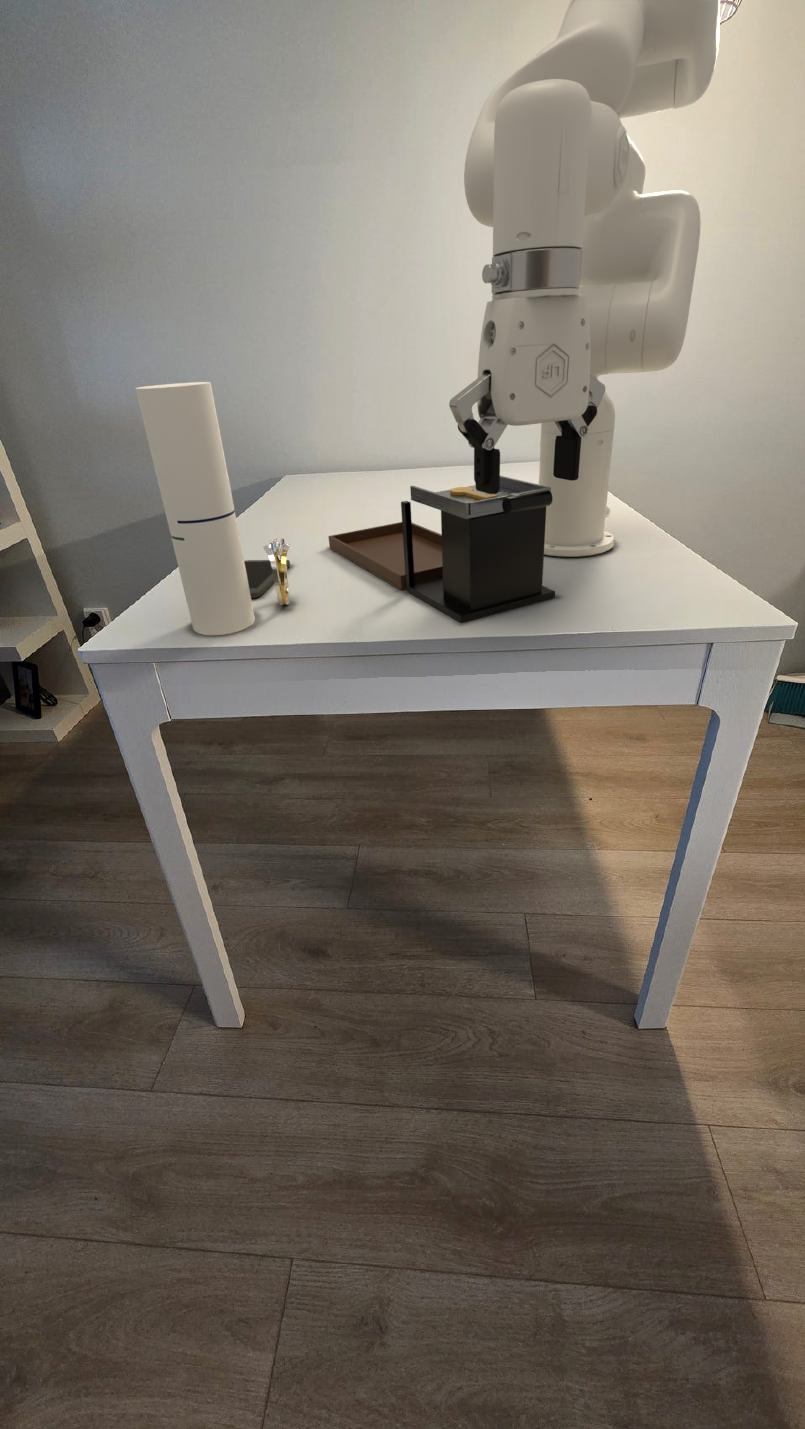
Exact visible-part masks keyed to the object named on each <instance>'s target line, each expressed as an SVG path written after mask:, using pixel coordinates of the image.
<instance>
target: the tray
mask: <svg viewBox="0 0 805 1429" xmlns="http://www.w3.org/2000/svg"><path fill="white" fill-rule="evenodd" d="M327 537H328V544H329V549H330V550H332V551H334V552H335V553H337V554H339V555H340V556H342V557H344V558H346V559H347V560H349V561H351V562H352V563H354V564H356V565H358V566H359V567H361V568H362V569H365V571H368V572H370V573H371V574H372V575H374V576H376V577H378V578H380V579H381V580H383V581H385V582H386V583H388V584H390V585H392V586H393V587H395V588H396V589H398V590H400V591H404V590H405V591H406V580H405V563H404V546H403V529H402V521H399V522H394V523H388V524H384V525H379V526H374V527H368V528H363V529H357V530H353V531H348V532H342V533H338V534H333V535H328V536H327ZM412 541H413V560H414V579H415V584H416V583H420V582H424V581H428V580H433V579H437V578H441V577H443V566H442V533H439V532H437V531H434V530H431V529H429V528H427V527H424V526H422V525H420V524H417V523H414V522H412Z"/></svg>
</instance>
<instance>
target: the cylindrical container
mask: <svg viewBox="0 0 805 1429" xmlns="http://www.w3.org/2000/svg"><path fill="white" fill-rule="evenodd" d="M135 394H136V397H137V401H138V406H139V409H140V410H139V411H140V414H141V419H142V422H143V426H144V430H145V431H144V432H145V434H146V439H147V443H148V447H149V451H150V455H151V459H152V463H153V468H154V471H155V477H156V480H157V484H158V488H159V492H160V496H161V502H162V504H163V509H164V514H165V517H166V521H167V526H168V529H169V533H170V538H171V542H172V546H173V551H174V555H175V559H176V562H177V568H178V572H179V576H180V579H181V584H182V588H183V591H184V596H185V600H186V604H187V609H188V613H189V617H190V621H191V625H192V630H193V631H194V632H195V633H197V634H198V635H203V636H224V635H230V634H235V633H238V632H240V631H243V630H246V629H248V628H249V627H251V626H252V625H253V624H255V621H256V617H255V612H254V606H253V601H252V597H251V595H250V590H249V584H248V579H247V573H246V568H245V563H244V561H245V558H244V553H243V547H242V543H241V537H240V531H239V526H238V521H237V515H236V511H235V505H234V500H233V499H234V498H233V494H232V488H231V483H230V478H229V473H228V466H227V461H226V456H225V451H224V446H223V439H222V435H221V430H220V429H221V428H220V424H219V419H218V413H217V409H216V404H215V398H214V393H213V388H212V382H211V381H193V382H192V381H191V382H179V383H178V382H176V383H166V384H155V385H145V386H139V387H135Z"/></svg>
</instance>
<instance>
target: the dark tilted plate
mask: <svg viewBox="0 0 805 1429" xmlns="http://www.w3.org/2000/svg"><path fill="white" fill-rule="evenodd" d="M467 487H471V488H474V491H475V492H478V493H482V494H486V495H489V494H488V493H484V492H481V491H477V490H476V486H475V485H469V486H467ZM409 489H410V501H412V502H415V503H419V504H421V505H423V506H427V507H430V508H433V509H435V510H438V511H440V512H441V511H444V512H447V513H450V514H453V515H456V516H459V517H462V518H465V519H469V518H474V517H479V516H484V515H489V514H494V513H499V512H505V513H506V514H511V513H516V512H521V511H526V510H530V509H535V508H540V507H545V506H549V505H551V503H552V499H553V498H552V493H551V487H547V486H543V485H539V483H534V482H531V481H525V480H521V479H516V478H512V477H508V476H504V475H500V489H499V492H498V493H497V494H494V495H498V497H495V498H490V499H485V500H479V499H476V498H472V497H469V496H466V495H452V494H450V490H451V489H446V490H439V491H432V490H428V489H425V488H423V487H419V486H415V485H410V488H409Z"/></svg>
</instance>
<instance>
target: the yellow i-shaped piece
mask: <svg viewBox="0 0 805 1429" xmlns="http://www.w3.org/2000/svg"><path fill="white" fill-rule="evenodd" d="M449 490H450V494H452V495H466V496H469V497H472V498H476V499H479V500H485V499H490V498H495V497H498V495H494V494H489V495H486V494H482V493H478V492H475V491H474V488H471V487H468V486H458V487H453V488H450V489H449Z"/></svg>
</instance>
